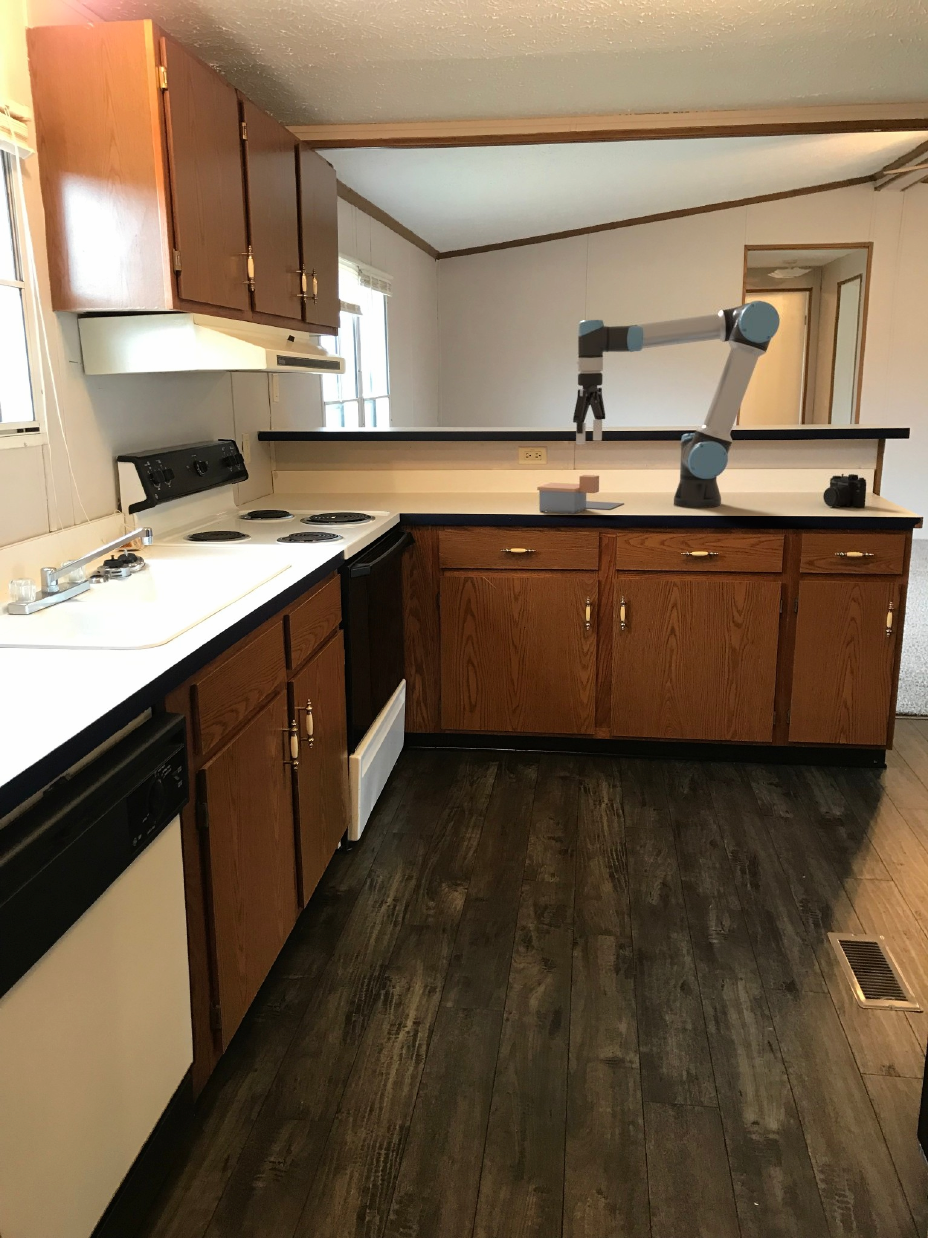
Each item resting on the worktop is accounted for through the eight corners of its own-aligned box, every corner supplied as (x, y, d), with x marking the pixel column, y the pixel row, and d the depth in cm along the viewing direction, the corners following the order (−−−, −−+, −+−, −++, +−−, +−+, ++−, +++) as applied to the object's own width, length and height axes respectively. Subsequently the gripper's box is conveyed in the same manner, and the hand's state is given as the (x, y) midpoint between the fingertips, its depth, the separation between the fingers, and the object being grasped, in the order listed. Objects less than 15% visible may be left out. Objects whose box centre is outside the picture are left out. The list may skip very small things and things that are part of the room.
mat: (624, 504, 329) (624, 503, 329) (609, 509, 318) (609, 508, 318) (576, 501, 337) (576, 500, 337) (561, 506, 326) (561, 505, 326)
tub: (586, 509, 321) (586, 487, 319) (574, 513, 312) (574, 491, 310) (552, 507, 326) (552, 485, 324) (539, 511, 318) (539, 489, 316)
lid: (603, 490, 317) (603, 474, 315) (589, 494, 307) (590, 478, 306) (551, 487, 325) (551, 471, 324) (537, 491, 316) (537, 475, 315)
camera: (811, 504, 320) (813, 473, 318) (837, 502, 324) (840, 471, 321) (841, 510, 308) (843, 478, 305) (868, 507, 311) (871, 476, 309)
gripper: (594, 371, 316) (593, 438, 321) (562, 373, 295) (561, 445, 300) (616, 370, 312) (615, 439, 318) (585, 373, 291) (584, 446, 297)
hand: (589, 442), depth 309 cm, fingers open, 13 cm apart
